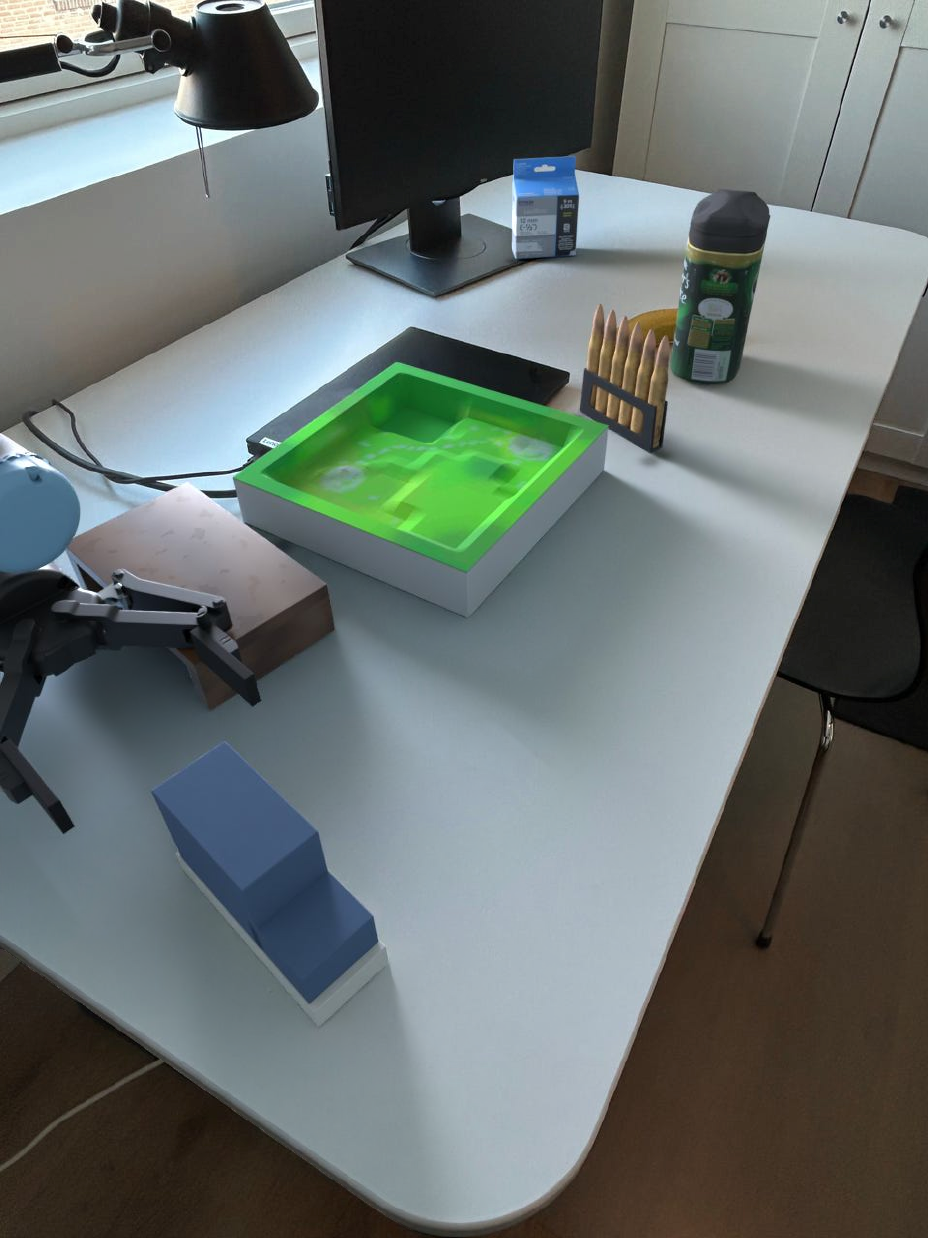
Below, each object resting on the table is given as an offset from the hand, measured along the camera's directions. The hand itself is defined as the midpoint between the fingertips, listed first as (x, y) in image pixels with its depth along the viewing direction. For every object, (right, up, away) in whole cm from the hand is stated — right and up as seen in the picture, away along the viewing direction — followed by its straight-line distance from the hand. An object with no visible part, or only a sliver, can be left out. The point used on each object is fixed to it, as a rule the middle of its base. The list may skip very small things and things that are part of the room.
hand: (163, 750), depth 55 cm
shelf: (-3, +9, +19) cm, 21 cm away
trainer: (+8, -10, -1) cm, 12 cm away
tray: (+15, +20, +30) cm, 39 cm away
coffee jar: (+46, +37, +47) cm, 76 cm away
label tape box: (+30, +61, +72) cm, 99 cm away
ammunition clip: (+35, +28, +38) cm, 59 cm away
